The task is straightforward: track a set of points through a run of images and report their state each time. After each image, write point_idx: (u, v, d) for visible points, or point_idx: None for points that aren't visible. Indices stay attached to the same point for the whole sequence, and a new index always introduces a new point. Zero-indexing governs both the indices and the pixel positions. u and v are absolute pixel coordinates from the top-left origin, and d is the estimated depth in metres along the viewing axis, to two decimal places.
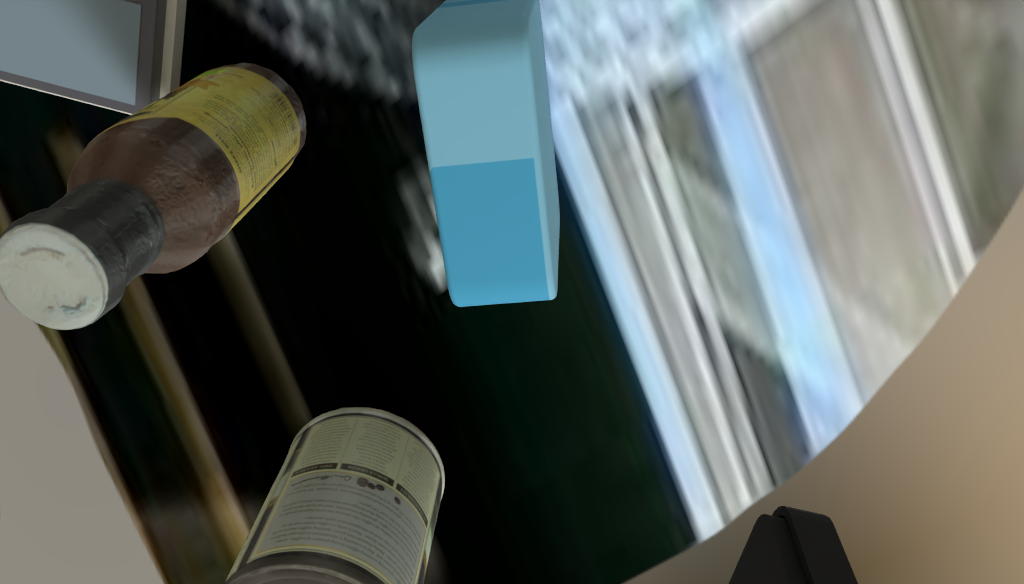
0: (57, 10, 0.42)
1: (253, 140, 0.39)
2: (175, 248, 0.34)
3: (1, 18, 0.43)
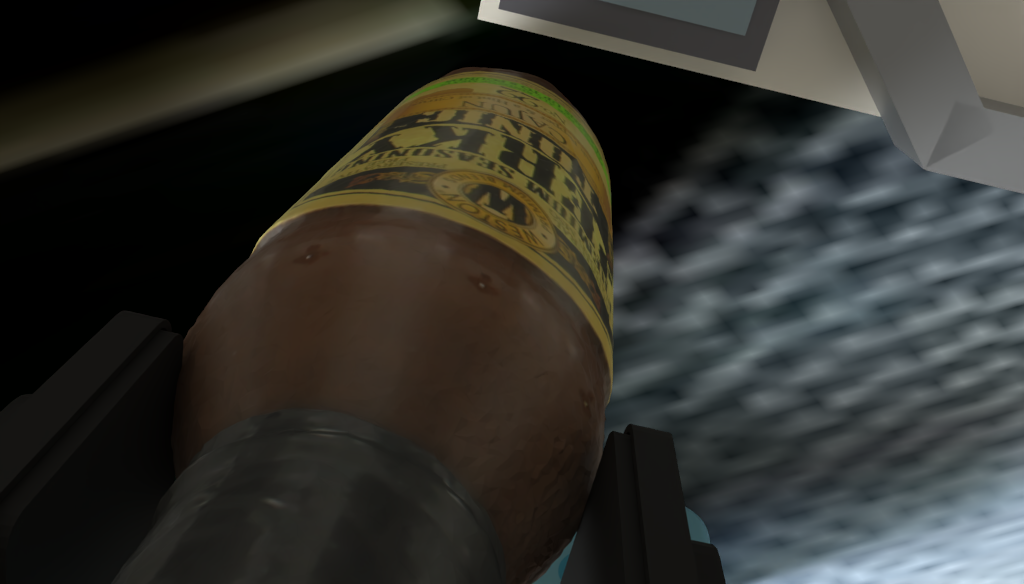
0: None
1: None
2: None
3: None
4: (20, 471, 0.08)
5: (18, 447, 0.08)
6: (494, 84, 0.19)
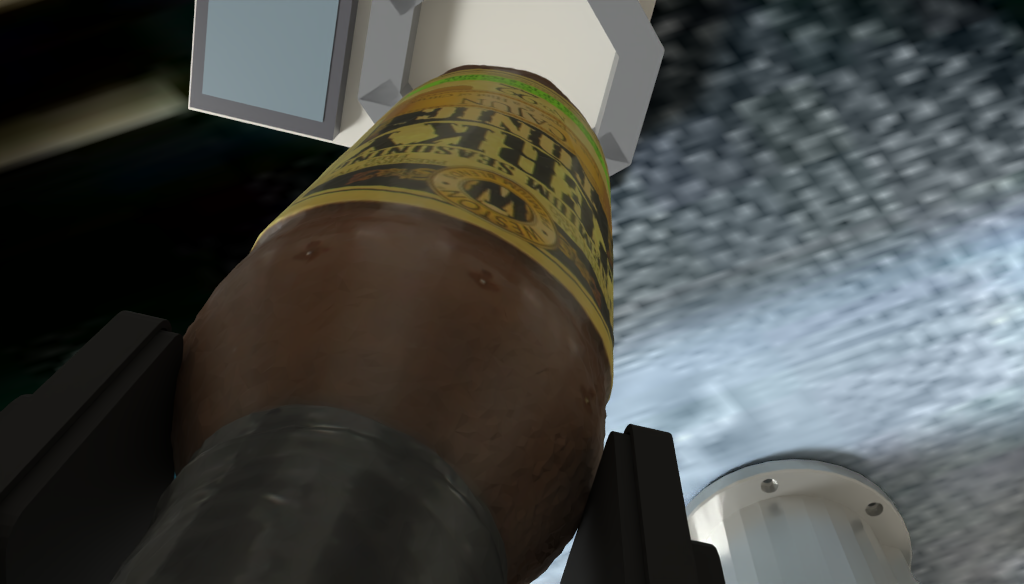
0: (302, 14, 0.34)
1: None
2: None
3: None
4: (20, 471, 0.08)
5: (18, 447, 0.08)
6: (493, 81, 0.19)
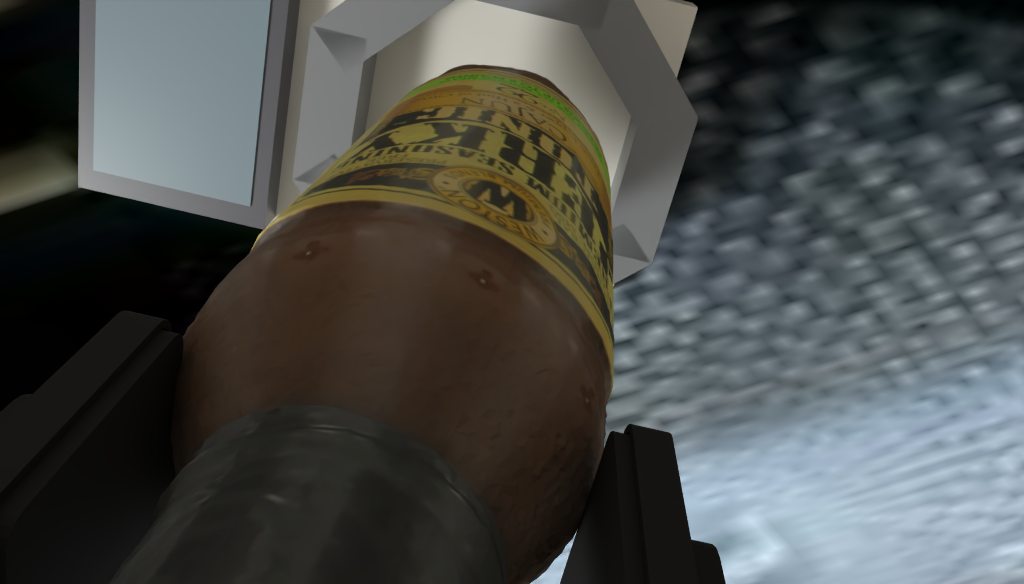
0: (219, 70, 0.26)
1: None
2: None
3: None
4: (21, 470, 0.08)
5: (19, 447, 0.08)
6: (493, 81, 0.19)
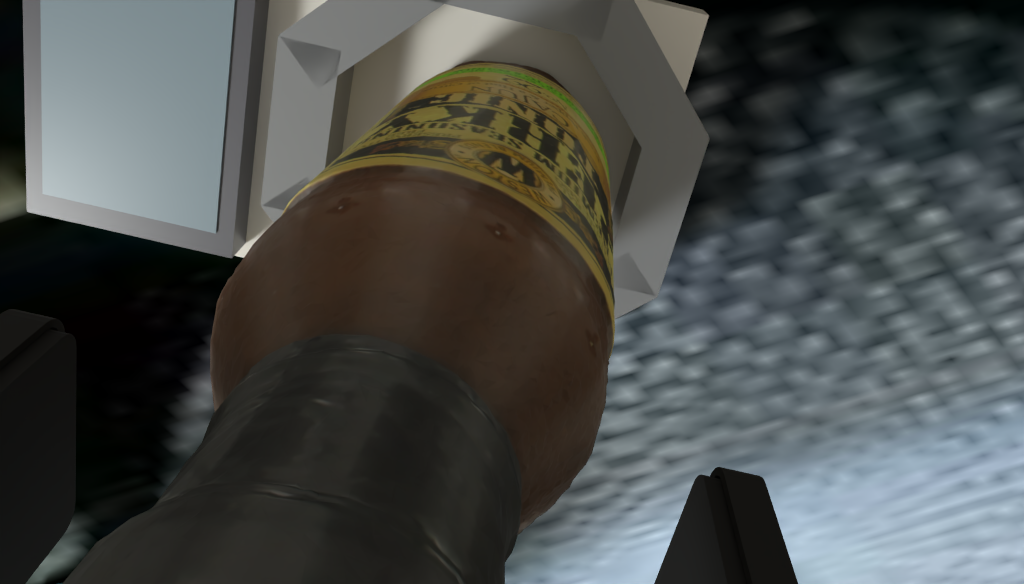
0: (178, 85, 0.23)
1: None
2: None
3: None
4: None
5: None
6: (499, 73, 0.20)
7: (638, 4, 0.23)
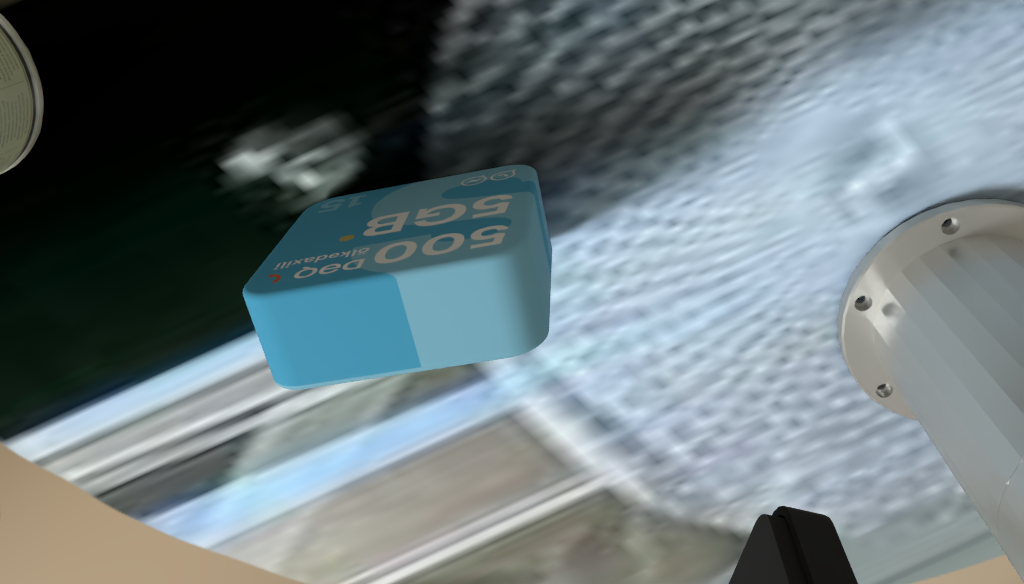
0: None
1: None
2: None
3: None
4: None
5: None
6: None
7: None
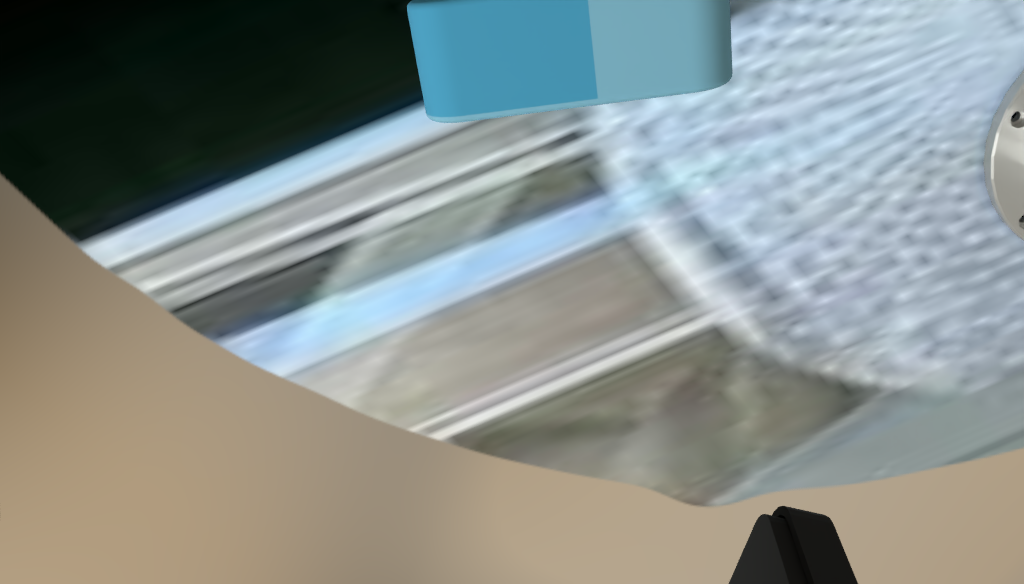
0: None
1: None
2: None
3: None
4: None
5: None
6: None
7: None
